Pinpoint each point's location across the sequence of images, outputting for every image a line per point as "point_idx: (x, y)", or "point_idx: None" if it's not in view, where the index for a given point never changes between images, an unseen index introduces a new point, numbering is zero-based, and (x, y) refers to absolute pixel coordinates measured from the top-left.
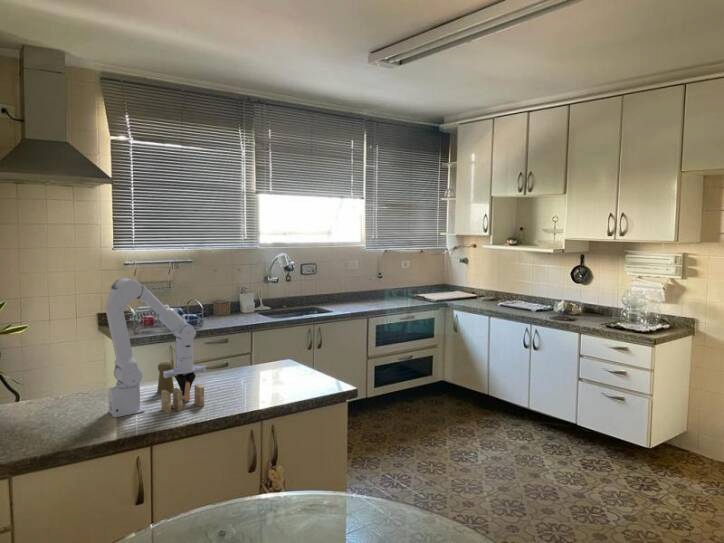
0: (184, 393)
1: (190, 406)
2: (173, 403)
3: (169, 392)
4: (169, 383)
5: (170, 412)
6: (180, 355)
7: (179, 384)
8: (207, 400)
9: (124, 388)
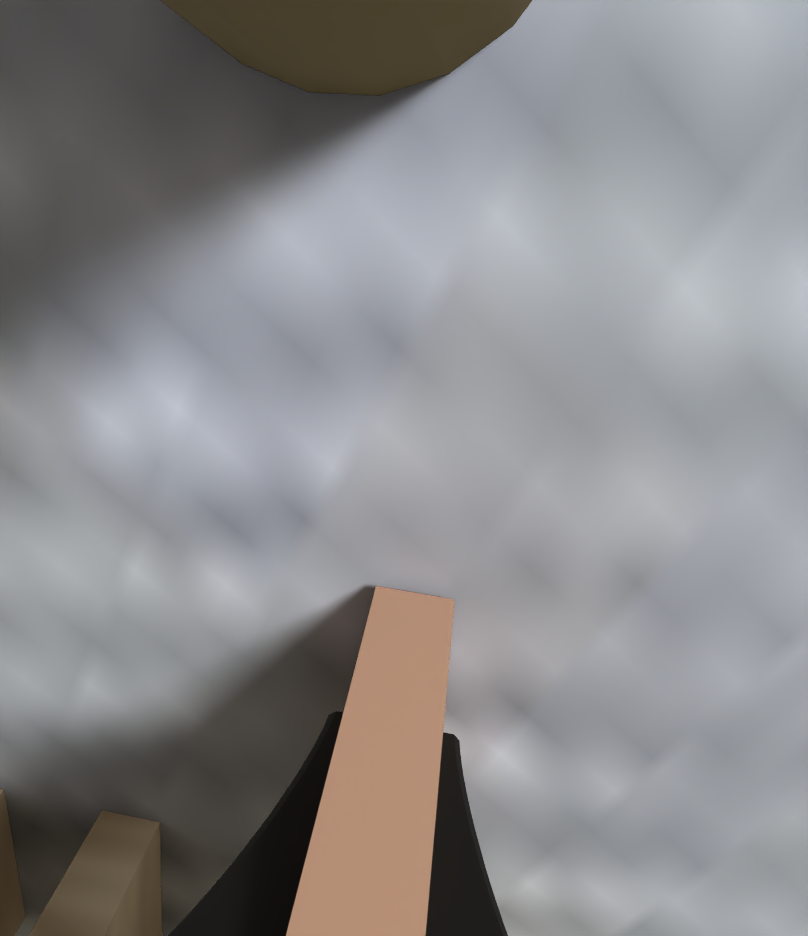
0: None
1: None
2: (69, 886)
3: (342, 89)
4: (296, 13)
5: (16, 919)
6: None
7: (227, 912)
8: (621, 921)
9: None
